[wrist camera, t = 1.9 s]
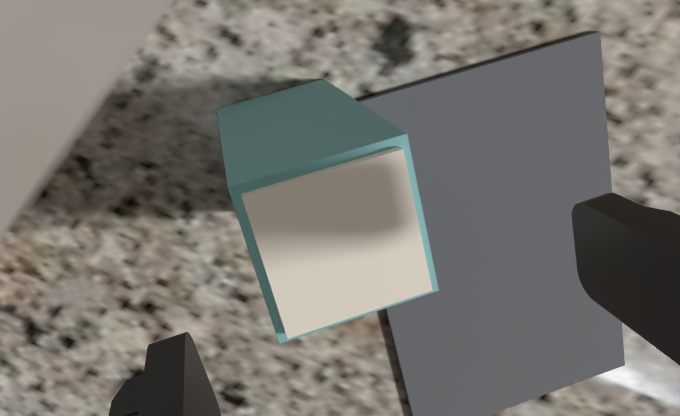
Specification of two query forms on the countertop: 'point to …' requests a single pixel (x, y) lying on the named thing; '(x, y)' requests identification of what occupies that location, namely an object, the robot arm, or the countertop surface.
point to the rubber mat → (504, 229)
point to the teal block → (325, 206)
